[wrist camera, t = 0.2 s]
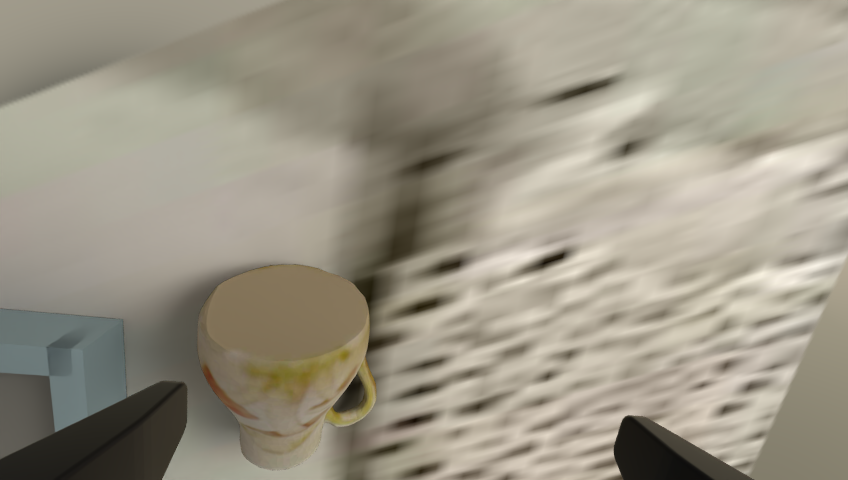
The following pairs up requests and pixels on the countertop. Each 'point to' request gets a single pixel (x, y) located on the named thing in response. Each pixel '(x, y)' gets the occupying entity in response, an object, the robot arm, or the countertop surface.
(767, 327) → the countertop surface
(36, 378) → the mat
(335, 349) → the mug
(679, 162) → the countertop surface
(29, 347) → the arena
